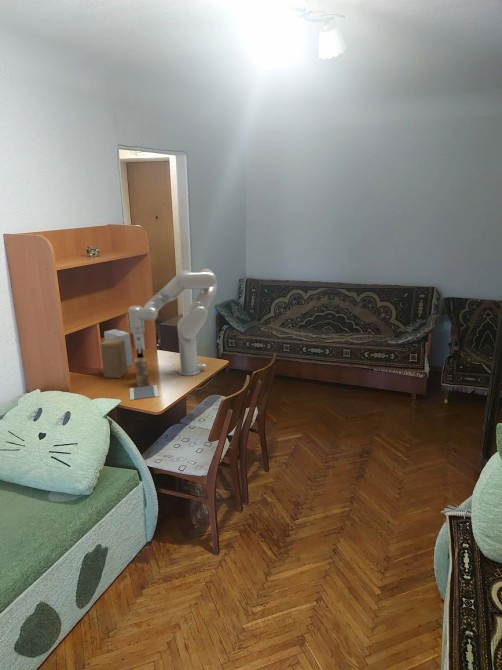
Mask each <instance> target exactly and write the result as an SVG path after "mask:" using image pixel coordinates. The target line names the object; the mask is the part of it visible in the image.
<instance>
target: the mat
mask: <svg viewBox="0 0 502 670" xmlns="http://www.w3.org/2000/svg"><path fill="white" fill-rule="evenodd" d="M158 397H160V395H159V387H158V385H157V384H153V385H149V386H144V387H137V386H136V387H130V388H129V401H133V400H136V401H137V400H142V399H150V398H158Z"/></svg>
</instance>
